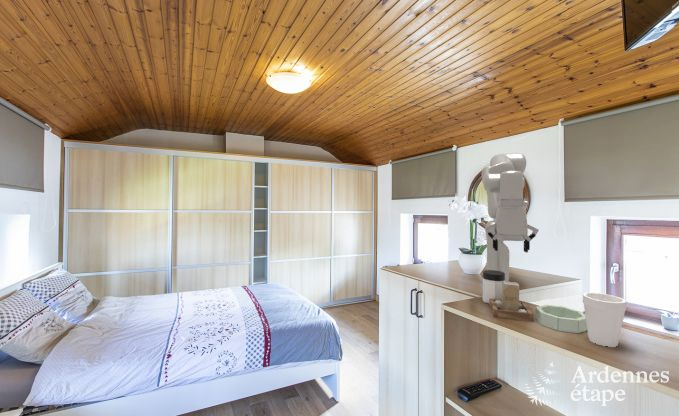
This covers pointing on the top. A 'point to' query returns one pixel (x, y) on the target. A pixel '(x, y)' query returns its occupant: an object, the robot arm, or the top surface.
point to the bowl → (561, 318)
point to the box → (510, 296)
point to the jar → (492, 285)
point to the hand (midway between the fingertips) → (510, 251)
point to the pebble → (498, 303)
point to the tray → (512, 312)
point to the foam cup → (604, 318)
